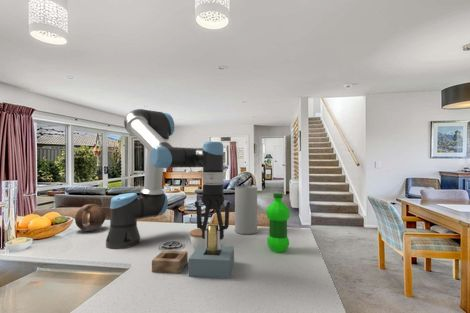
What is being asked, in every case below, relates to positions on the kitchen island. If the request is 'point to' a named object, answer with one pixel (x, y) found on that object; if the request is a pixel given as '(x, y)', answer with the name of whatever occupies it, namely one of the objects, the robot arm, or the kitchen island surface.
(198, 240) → the lidded jar
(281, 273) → the kitchen island surface
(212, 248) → the brass pin
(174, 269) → the block
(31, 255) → the kitchen island surface
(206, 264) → the dock socket
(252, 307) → the kitchen island surface
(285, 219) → the plastic bottle
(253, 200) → the cylinder vase
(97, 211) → the wooden sphere
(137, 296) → the kitchen island surface
